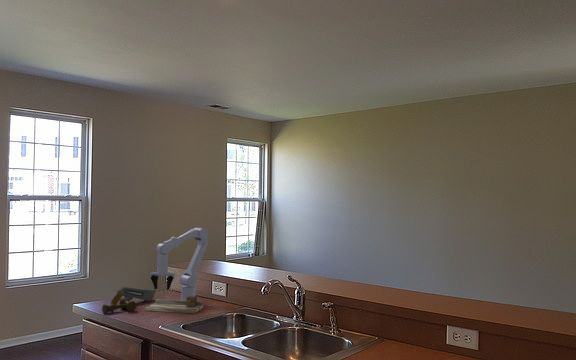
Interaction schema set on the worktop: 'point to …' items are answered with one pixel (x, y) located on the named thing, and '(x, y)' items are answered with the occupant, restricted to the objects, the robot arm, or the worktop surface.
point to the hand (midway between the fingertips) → (162, 289)
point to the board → (173, 306)
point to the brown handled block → (191, 301)
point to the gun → (133, 294)
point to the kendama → (120, 306)
